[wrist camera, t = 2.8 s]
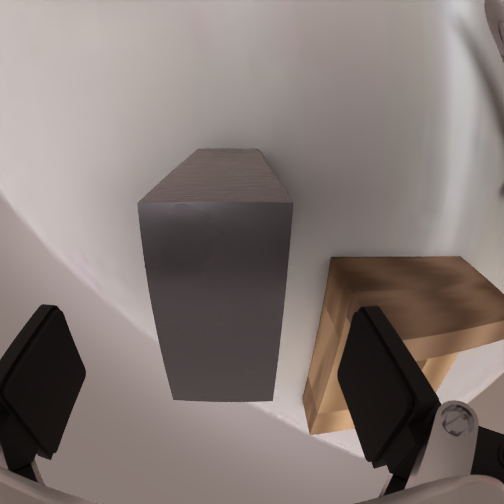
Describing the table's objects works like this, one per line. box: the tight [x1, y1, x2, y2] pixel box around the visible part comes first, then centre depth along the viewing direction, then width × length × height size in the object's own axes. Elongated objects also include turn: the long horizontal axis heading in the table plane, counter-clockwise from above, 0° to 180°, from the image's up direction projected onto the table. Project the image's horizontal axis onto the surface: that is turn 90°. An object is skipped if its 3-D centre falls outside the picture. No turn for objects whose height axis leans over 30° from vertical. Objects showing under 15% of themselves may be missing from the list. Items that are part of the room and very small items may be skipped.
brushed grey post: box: [138, 149, 293, 402], centre depth 15 cm, size 4×8×13 cm, turn 178°
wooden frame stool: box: [303, 257, 504, 435], centre depth 23 cm, size 14×18×10 cm
